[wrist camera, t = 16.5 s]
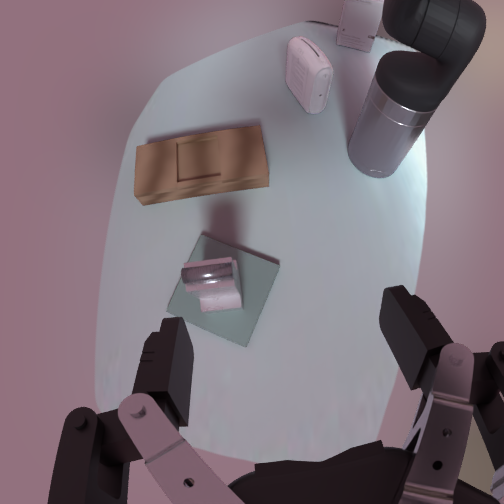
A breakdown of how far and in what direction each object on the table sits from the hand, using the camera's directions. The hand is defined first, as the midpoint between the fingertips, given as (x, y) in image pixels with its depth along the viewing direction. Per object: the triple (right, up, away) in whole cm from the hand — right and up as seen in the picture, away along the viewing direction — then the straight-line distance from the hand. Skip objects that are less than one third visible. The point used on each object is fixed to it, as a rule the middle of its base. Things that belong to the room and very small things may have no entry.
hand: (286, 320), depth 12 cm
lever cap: (-5, -3, +30) cm, 31 cm away
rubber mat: (-5, -3, +31) cm, 32 cm away
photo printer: (+8, +32, +41) cm, 52 cm away
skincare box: (+22, +51, +45) cm, 72 cm away
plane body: (-9, +16, +37) cm, 41 cm away
